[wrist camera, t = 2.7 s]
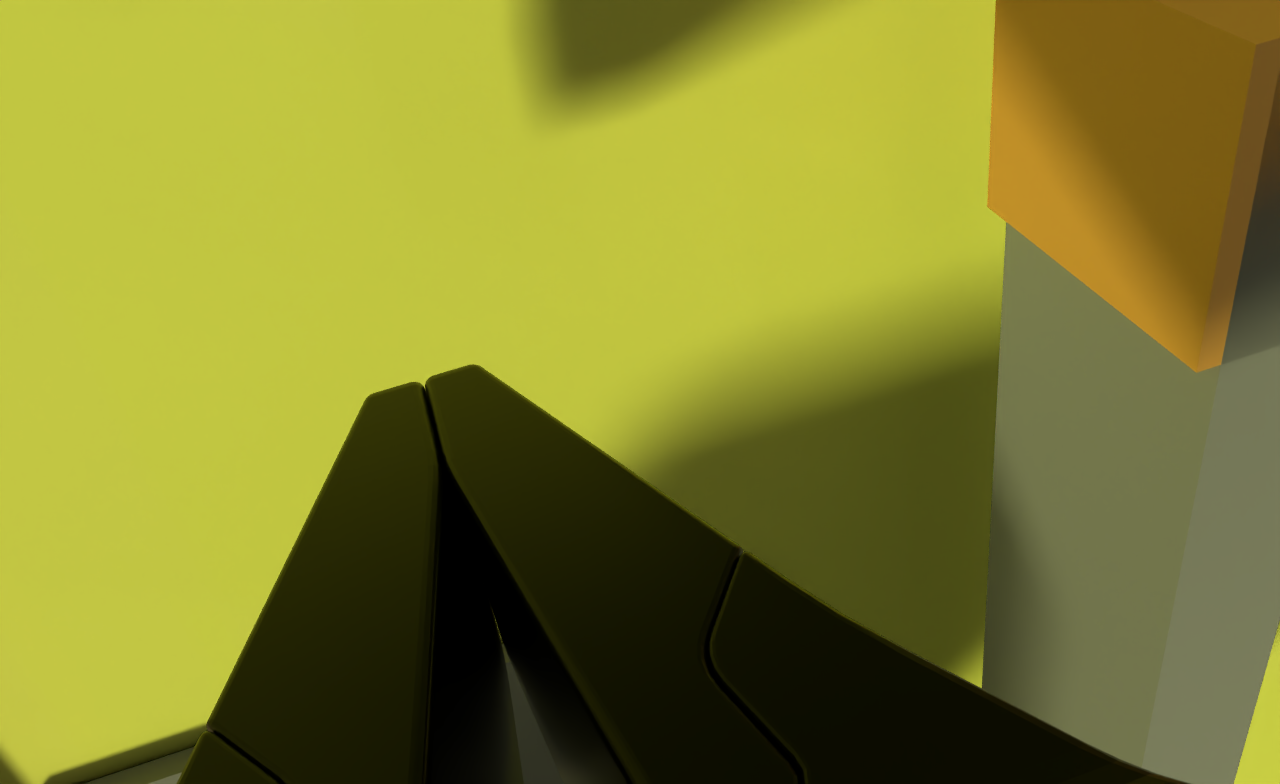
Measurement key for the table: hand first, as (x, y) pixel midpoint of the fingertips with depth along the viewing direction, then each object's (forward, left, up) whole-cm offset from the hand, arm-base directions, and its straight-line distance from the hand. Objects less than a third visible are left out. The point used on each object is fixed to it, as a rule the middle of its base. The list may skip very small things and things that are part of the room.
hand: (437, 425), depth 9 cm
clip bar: (-6, -6, -1) cm, 9 cm away
